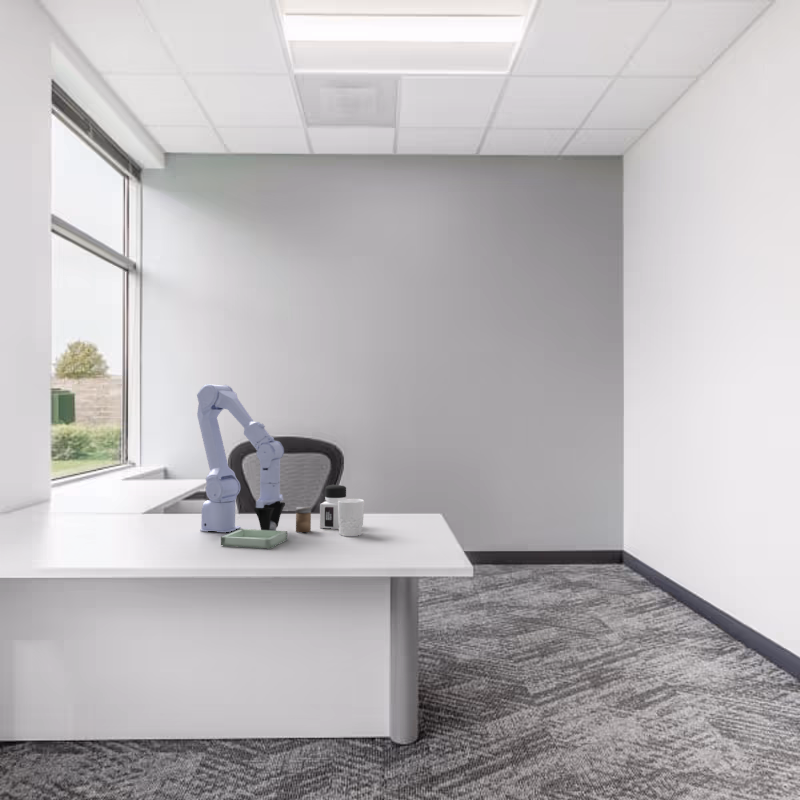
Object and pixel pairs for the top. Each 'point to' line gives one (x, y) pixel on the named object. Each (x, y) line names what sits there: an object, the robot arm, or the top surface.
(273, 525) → the ball
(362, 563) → the top surface
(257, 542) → the tray
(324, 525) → the container
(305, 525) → the cylinder
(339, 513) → the white cup
